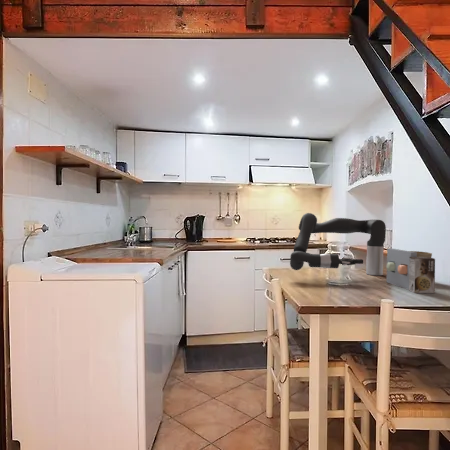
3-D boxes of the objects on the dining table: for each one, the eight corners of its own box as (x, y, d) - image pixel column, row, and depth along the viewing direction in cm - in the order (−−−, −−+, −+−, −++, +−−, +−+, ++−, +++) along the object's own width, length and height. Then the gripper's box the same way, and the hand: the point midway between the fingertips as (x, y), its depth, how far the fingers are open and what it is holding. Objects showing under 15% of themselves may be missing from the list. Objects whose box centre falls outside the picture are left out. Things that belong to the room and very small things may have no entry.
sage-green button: (386, 270, 183) (386, 261, 183) (398, 270, 184) (399, 261, 184) (391, 271, 179) (391, 263, 179) (403, 271, 180) (404, 263, 180)
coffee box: (428, 290, 166) (429, 256, 165) (435, 293, 159) (436, 258, 159) (408, 290, 167) (409, 256, 166) (414, 293, 160) (415, 257, 160)
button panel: (386, 282, 187) (387, 248, 186) (391, 282, 187) (392, 248, 186) (409, 290, 167) (410, 252, 166) (415, 289, 167) (416, 252, 167)
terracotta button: (397, 273, 174) (397, 264, 173) (410, 273, 174) (411, 264, 174) (402, 274, 169) (403, 265, 169) (416, 274, 170) (416, 265, 170)
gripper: (326, 266, 191) (359, 266, 189) (330, 270, 178) (366, 270, 176) (326, 252, 190) (359, 252, 188) (331, 255, 177) (366, 255, 175)
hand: (362, 261), depth 182 cm, fingers closed
